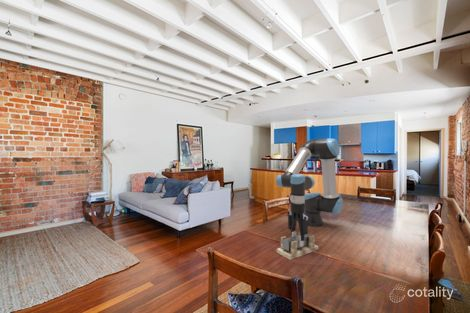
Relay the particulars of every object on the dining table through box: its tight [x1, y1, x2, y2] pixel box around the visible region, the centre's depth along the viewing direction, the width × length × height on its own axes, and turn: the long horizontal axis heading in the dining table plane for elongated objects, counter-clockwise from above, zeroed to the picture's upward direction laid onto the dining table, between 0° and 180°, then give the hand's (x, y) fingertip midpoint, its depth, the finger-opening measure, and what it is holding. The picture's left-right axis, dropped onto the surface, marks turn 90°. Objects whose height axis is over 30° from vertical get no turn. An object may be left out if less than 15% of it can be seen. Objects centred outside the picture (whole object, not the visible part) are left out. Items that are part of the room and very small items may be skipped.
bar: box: [282, 234, 311, 251], centre depth 124 cm, size 18×4×4 cm, turn 123°
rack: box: [276, 231, 319, 261], centre depth 124 cm, size 22×10×8 cm, turn 122°
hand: (297, 244), depth 124 cm, fingers closed on bar, 4 cm apart
